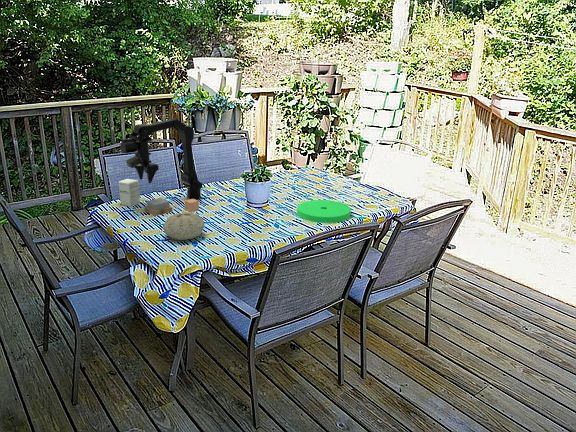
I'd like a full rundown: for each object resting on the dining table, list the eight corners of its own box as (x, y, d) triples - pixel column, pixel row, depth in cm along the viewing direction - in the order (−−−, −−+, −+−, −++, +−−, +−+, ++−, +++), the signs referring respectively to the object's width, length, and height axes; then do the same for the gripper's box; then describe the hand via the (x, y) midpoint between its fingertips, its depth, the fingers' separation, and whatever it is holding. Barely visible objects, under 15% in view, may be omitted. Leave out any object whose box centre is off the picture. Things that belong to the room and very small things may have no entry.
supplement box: (120, 204, 263) (117, 181, 258) (130, 200, 269) (128, 178, 265) (130, 207, 259) (128, 183, 255) (140, 203, 266) (138, 180, 261)
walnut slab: (162, 208, 261) (161, 202, 260) (172, 213, 254) (172, 207, 253) (144, 212, 254) (144, 206, 253) (154, 217, 247) (154, 211, 246)
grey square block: (161, 203, 258) (160, 197, 257) (169, 207, 253) (169, 201, 252) (147, 206, 253) (146, 201, 252) (155, 210, 248) (155, 204, 247)
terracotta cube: (193, 207, 260) (192, 198, 258) (198, 210, 257) (198, 200, 255) (185, 209, 257) (184, 200, 255) (190, 212, 253) (190, 202, 252)
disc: (354, 208, 263) (354, 202, 262) (345, 226, 239) (346, 219, 238) (304, 203, 270) (304, 197, 269) (290, 220, 246) (291, 213, 244)
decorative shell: (155, 237, 221) (153, 216, 218) (184, 226, 235) (183, 205, 232) (185, 247, 212) (183, 224, 208) (213, 234, 226) (212, 213, 222)
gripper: (118, 149, 248) (121, 180, 253) (136, 156, 235) (139, 188, 240) (139, 146, 255) (142, 176, 260) (158, 153, 242) (160, 184, 248)
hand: (145, 181), depth 252 cm, fingers open, 9 cm apart
